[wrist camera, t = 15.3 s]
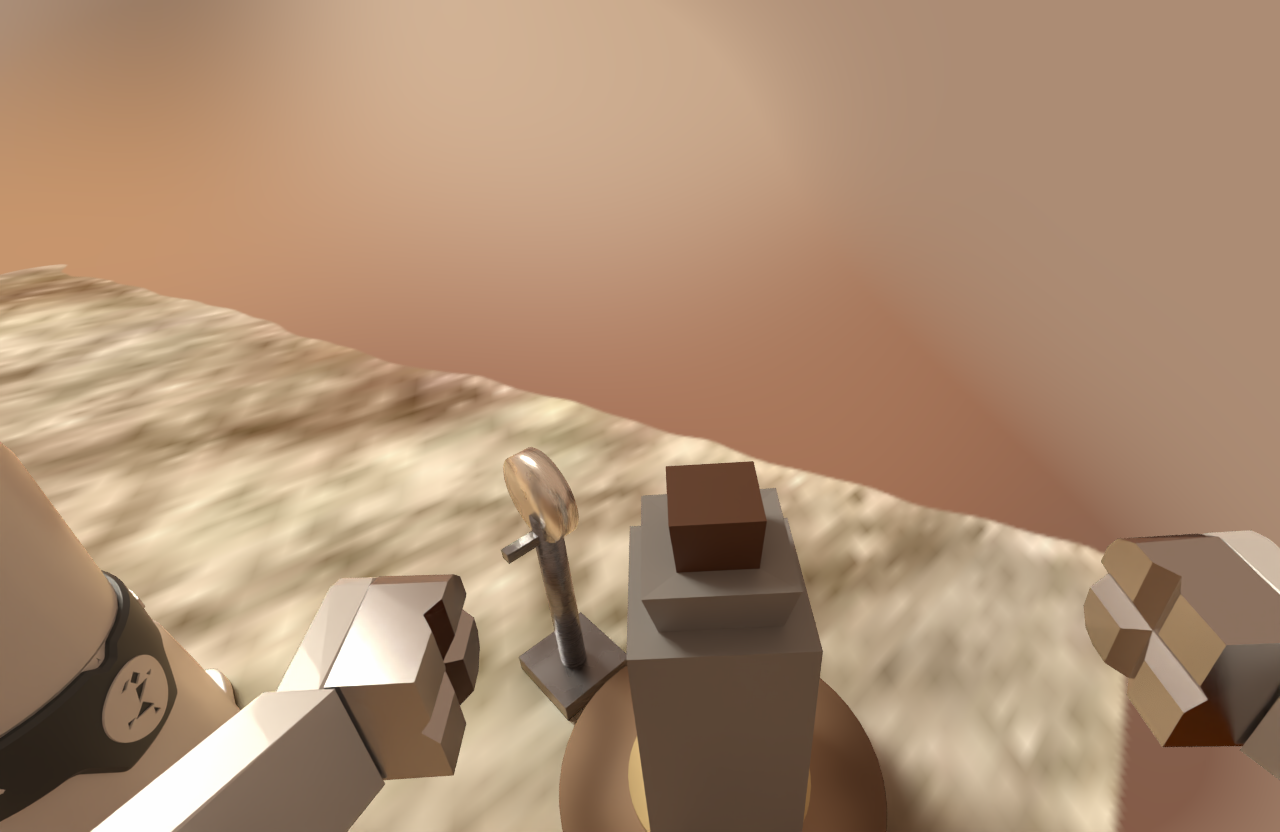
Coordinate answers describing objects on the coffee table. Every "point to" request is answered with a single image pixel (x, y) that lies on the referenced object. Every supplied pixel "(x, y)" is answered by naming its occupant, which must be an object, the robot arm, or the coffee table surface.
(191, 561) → the coffee table surface
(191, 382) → the coffee table surface
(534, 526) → the dial indicator
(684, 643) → the perfume bottle
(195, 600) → the coffee table surface
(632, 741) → the turntable
